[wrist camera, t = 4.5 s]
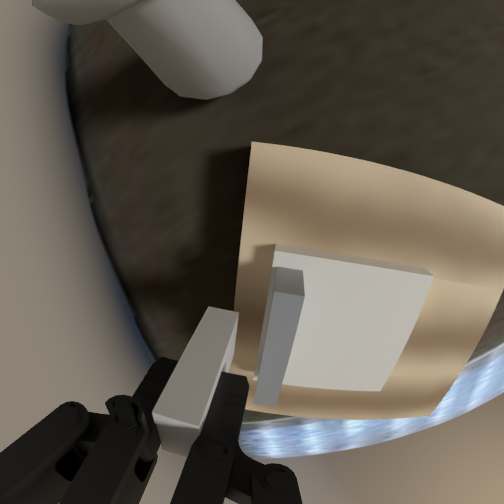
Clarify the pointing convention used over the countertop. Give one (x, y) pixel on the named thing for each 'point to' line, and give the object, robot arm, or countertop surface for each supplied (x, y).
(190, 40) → the salt shaker
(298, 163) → the socket board
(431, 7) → the countertop surface
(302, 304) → the shutter
